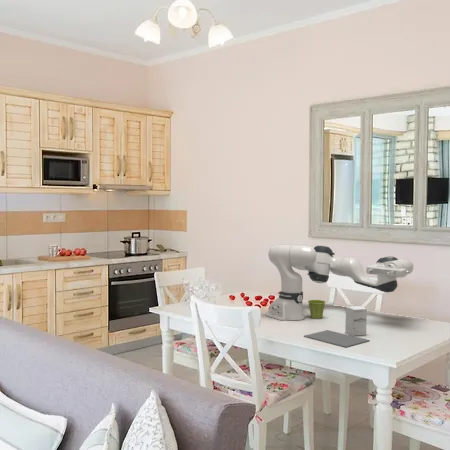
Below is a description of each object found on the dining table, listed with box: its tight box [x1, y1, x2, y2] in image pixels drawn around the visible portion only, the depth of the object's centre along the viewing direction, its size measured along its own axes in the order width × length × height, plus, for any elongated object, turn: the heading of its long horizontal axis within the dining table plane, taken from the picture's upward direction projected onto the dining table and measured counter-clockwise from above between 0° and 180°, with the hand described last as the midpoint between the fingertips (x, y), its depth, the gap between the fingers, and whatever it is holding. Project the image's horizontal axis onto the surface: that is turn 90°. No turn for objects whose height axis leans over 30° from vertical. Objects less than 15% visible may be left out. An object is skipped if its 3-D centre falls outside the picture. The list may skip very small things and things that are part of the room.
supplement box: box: [344, 305, 368, 337], centre depth 259 cm, size 7×7×13 cm
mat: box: [303, 329, 371, 349], centre depth 250 cm, size 24×17×1 cm
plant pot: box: [307, 299, 327, 319], centre depth 294 cm, size 9×9×9 cm
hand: (377, 273), depth 270 cm, fingers open, 8 cm apart
